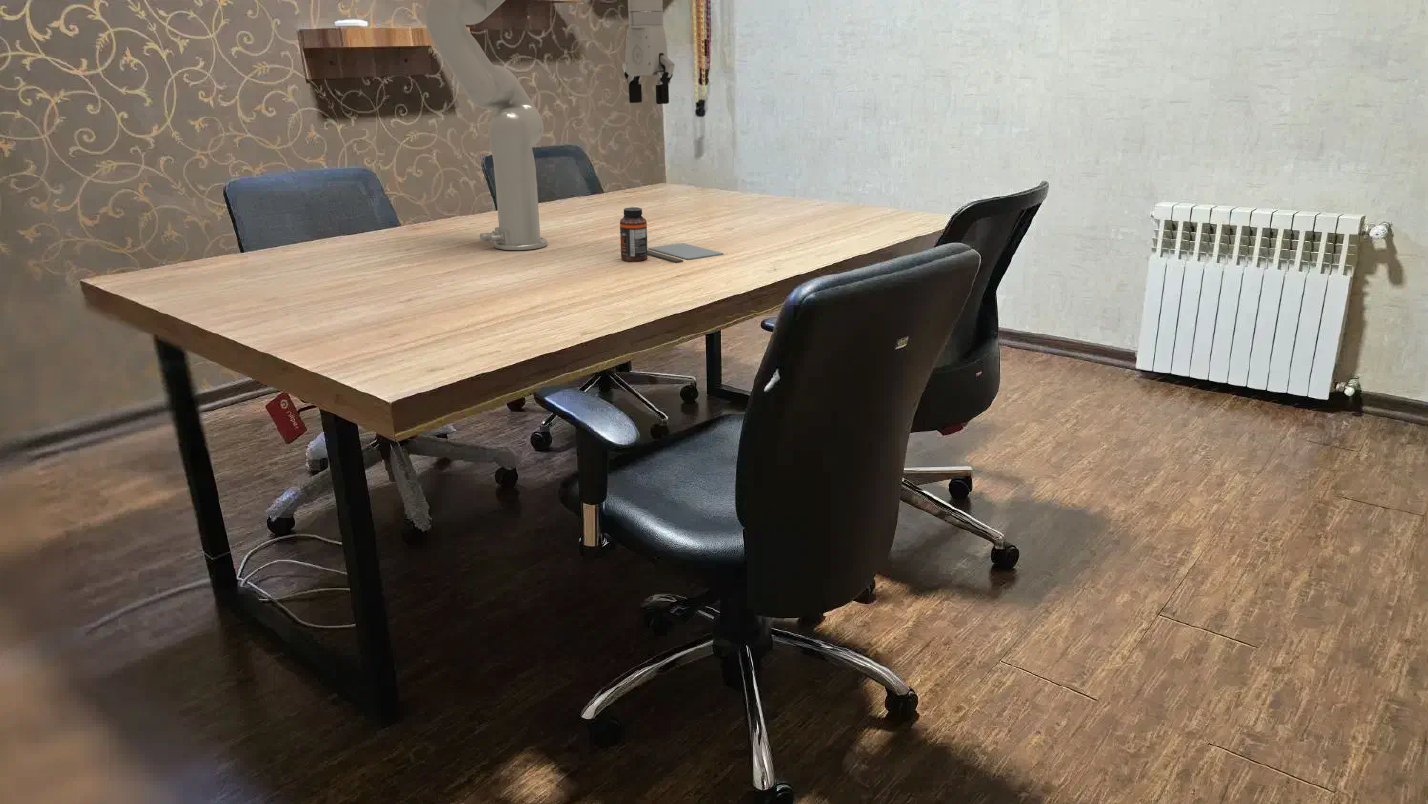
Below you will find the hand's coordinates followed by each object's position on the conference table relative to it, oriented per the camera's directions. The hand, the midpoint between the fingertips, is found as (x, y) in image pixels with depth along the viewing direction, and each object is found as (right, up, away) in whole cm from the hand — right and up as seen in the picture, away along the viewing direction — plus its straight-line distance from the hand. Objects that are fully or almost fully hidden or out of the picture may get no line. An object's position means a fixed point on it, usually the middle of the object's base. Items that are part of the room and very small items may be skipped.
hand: (649, 103), depth 216 cm
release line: (+1, -34, +3) cm, 34 cm away
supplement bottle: (-3, -35, 0) cm, 35 cm away
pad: (+8, -32, +8) cm, 34 cm away
